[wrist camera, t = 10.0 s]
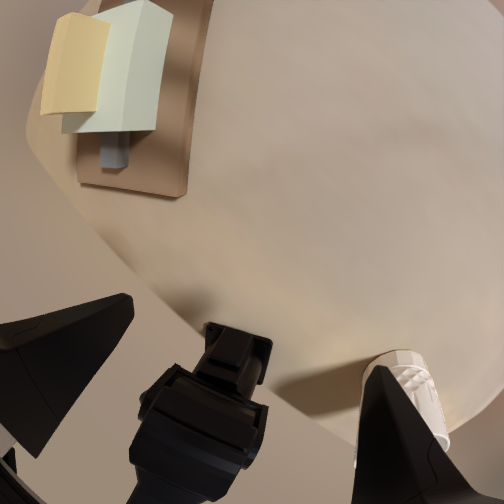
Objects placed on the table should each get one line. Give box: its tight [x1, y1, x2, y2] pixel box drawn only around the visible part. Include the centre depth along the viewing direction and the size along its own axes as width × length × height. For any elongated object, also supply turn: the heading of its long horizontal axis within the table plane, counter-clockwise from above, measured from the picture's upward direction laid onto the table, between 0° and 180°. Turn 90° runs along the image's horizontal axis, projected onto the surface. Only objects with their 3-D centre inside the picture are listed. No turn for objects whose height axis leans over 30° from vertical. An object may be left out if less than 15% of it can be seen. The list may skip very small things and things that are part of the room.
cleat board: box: [77, 0, 214, 197], centre depth 18 cm, size 20×12×3 cm, turn 172°
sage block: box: [40, 0, 173, 134], centre depth 14 cm, size 10×7×8 cm
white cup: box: [353, 350, 450, 469], centre depth 19 cm, size 8×8×10 cm
